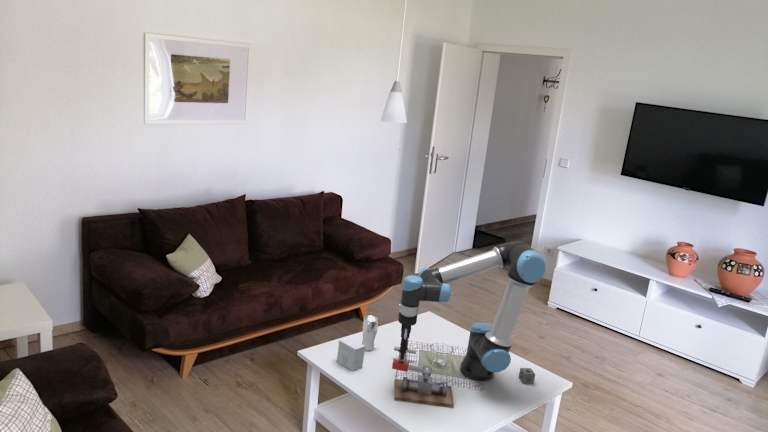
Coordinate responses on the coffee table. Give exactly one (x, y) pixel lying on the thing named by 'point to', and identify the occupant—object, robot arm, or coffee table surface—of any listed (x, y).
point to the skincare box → (350, 353)
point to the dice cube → (526, 375)
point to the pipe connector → (406, 350)
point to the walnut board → (422, 396)
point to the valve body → (424, 386)
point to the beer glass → (369, 332)
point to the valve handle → (411, 367)
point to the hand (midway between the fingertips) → (400, 364)
